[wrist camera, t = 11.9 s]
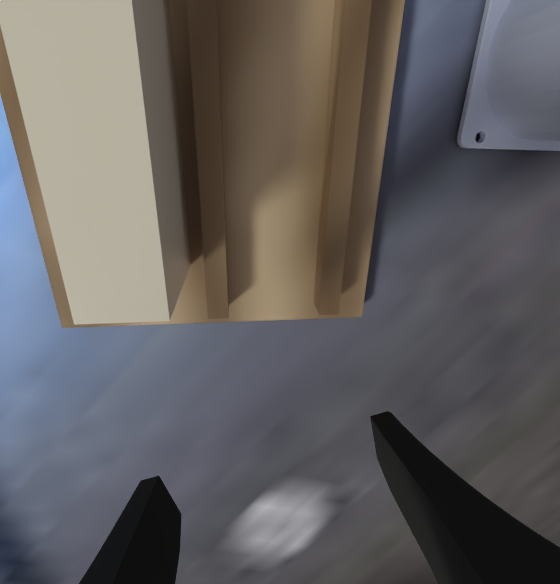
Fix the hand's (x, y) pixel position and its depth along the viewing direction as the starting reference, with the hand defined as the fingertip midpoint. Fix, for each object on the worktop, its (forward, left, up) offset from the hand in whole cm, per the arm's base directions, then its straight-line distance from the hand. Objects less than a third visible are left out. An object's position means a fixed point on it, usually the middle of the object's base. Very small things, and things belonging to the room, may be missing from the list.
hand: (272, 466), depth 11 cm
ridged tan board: (+2, -10, -9) cm, 14 cm away
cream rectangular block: (+5, -10, -8) cm, 14 cm away
